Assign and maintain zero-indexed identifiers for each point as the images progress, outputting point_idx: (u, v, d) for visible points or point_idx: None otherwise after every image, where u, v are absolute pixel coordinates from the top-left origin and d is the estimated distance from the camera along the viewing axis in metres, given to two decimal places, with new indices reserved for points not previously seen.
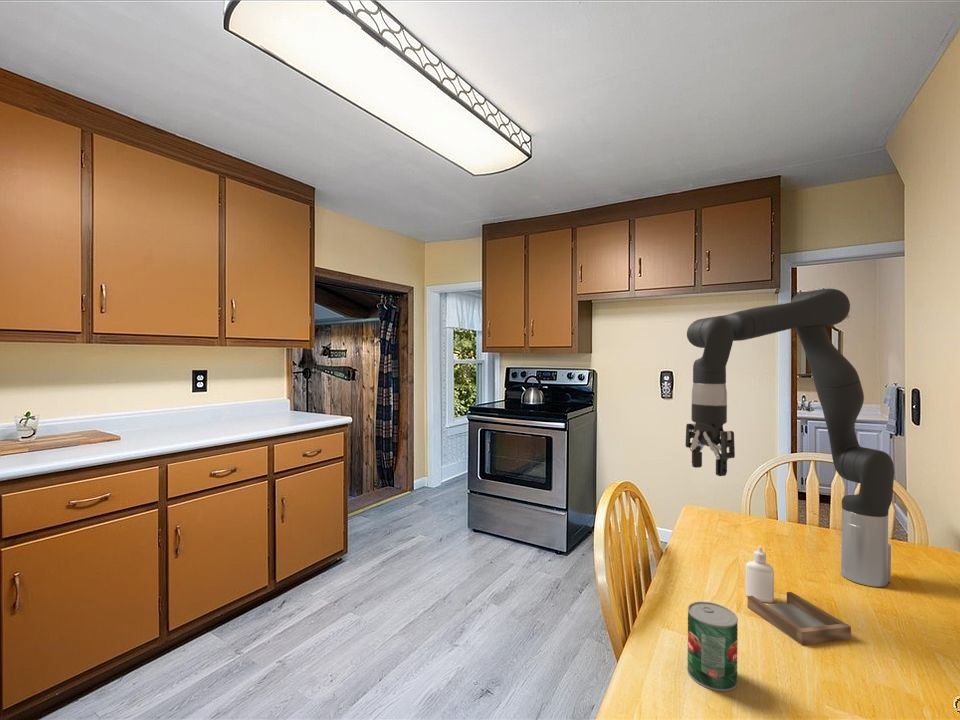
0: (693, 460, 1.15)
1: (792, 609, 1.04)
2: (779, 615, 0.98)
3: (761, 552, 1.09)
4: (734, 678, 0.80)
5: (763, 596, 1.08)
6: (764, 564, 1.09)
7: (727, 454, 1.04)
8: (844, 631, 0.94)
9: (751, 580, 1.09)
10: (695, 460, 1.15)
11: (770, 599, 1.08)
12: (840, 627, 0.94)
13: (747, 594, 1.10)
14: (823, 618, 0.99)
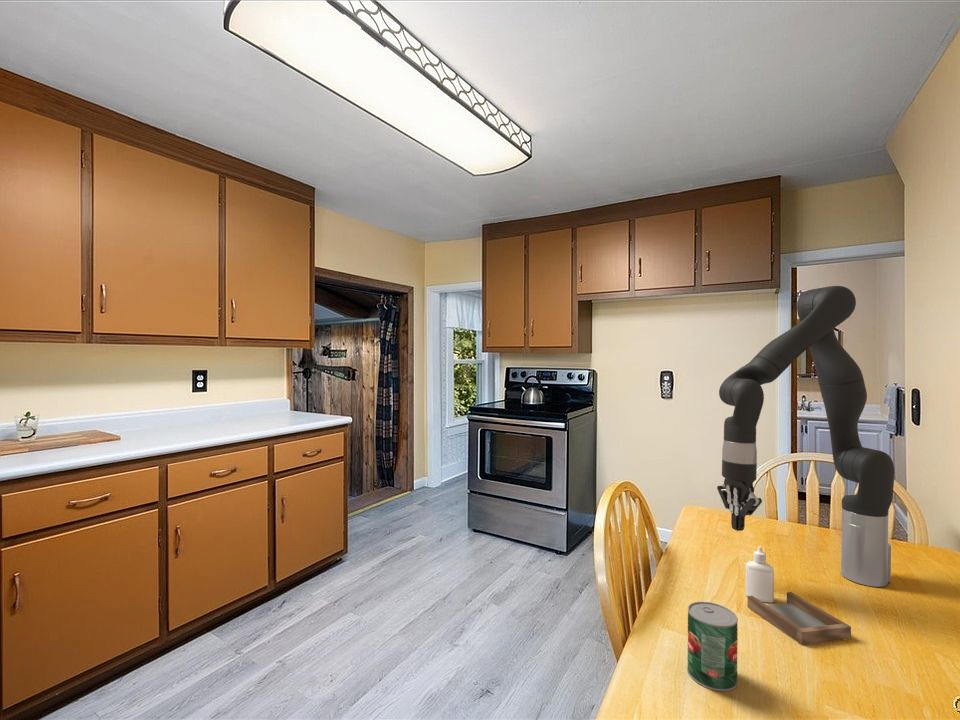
0: (733, 522, 1.17)
1: (792, 609, 1.04)
2: (779, 615, 0.98)
3: (761, 552, 1.09)
4: (734, 678, 0.80)
5: (763, 596, 1.08)
6: (764, 564, 1.09)
7: None
8: (844, 631, 0.94)
9: (751, 580, 1.09)
10: None
11: (770, 599, 1.08)
12: (840, 627, 0.94)
13: (747, 594, 1.10)
14: (823, 618, 0.99)
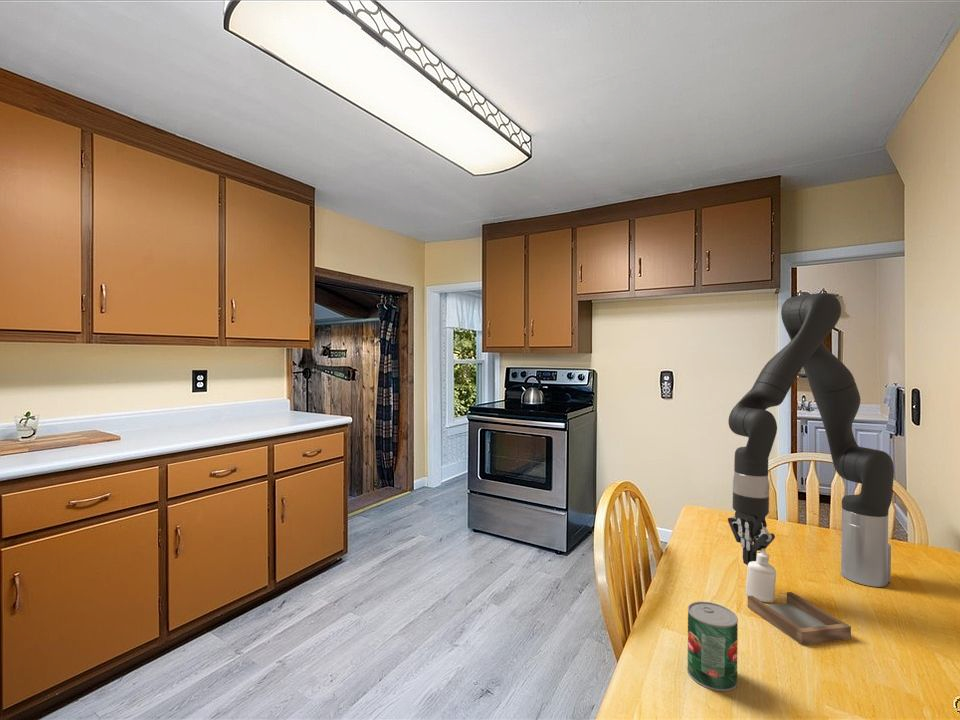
0: (744, 557, 1.13)
1: (792, 609, 1.04)
2: (779, 615, 0.98)
3: (764, 554, 1.08)
4: (734, 678, 0.80)
5: (763, 596, 1.08)
6: (767, 566, 1.08)
7: None
8: (844, 631, 0.94)
9: (752, 581, 1.09)
10: None
11: (770, 599, 1.07)
12: (840, 627, 0.94)
13: (747, 593, 1.10)
14: (823, 618, 0.99)
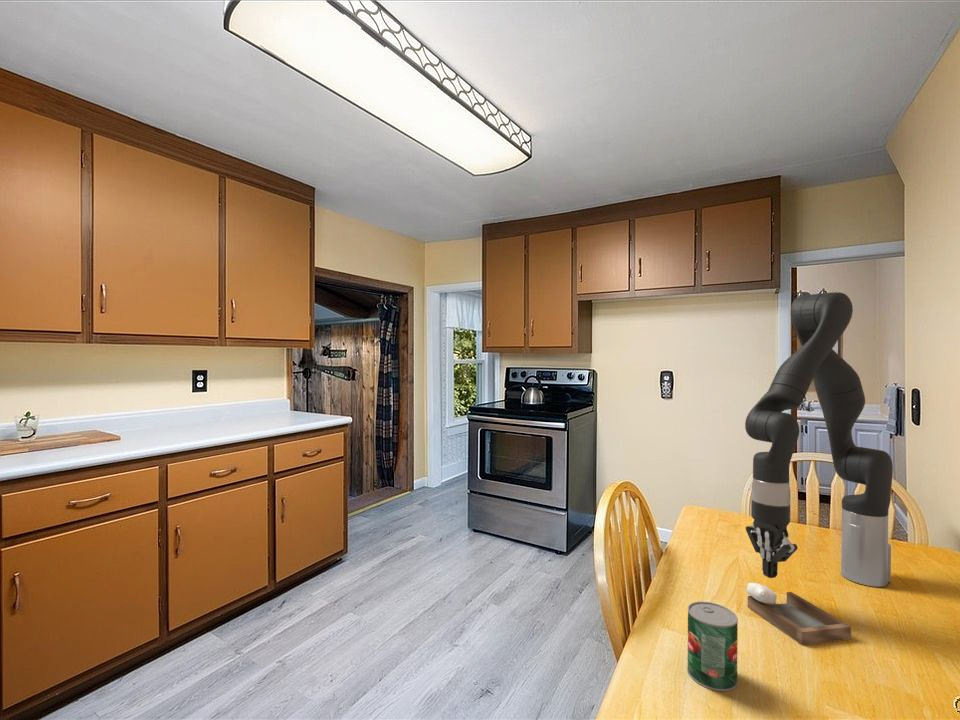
0: (764, 568, 1.07)
1: (792, 609, 1.04)
2: (779, 615, 0.98)
3: (762, 596, 1.00)
4: (734, 678, 0.80)
5: None
6: (765, 598, 1.01)
7: None
8: (844, 631, 0.94)
9: None
10: None
11: None
12: (840, 627, 0.94)
13: (747, 592, 1.09)
14: (823, 618, 0.99)
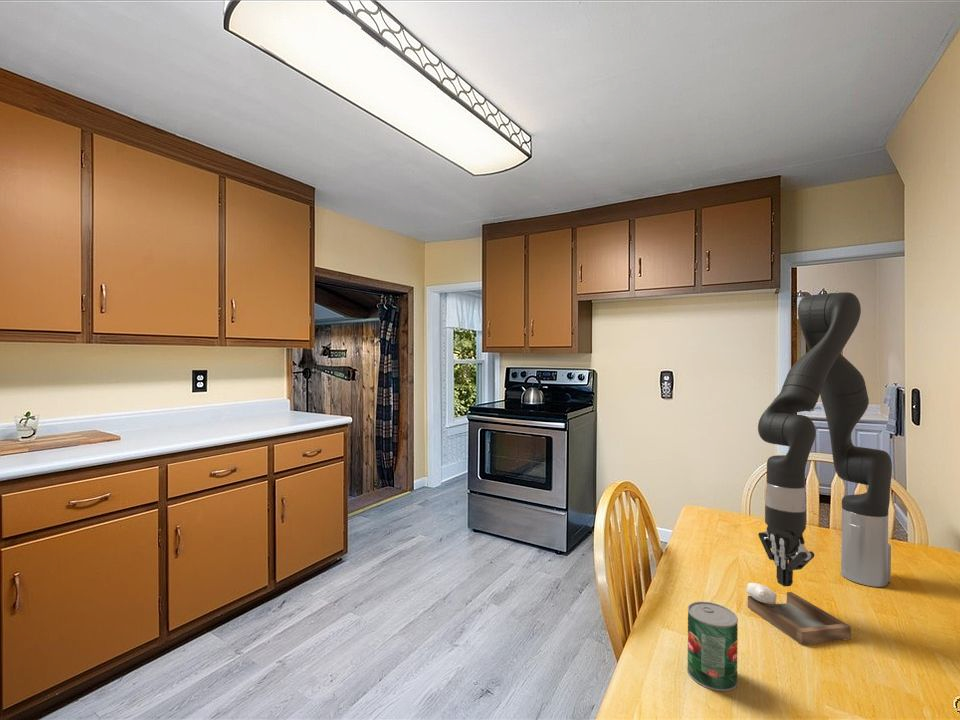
0: (779, 576, 1.03)
1: (792, 609, 1.04)
2: (779, 615, 0.98)
3: (762, 596, 1.00)
4: (734, 678, 0.80)
5: None
6: (765, 598, 1.01)
7: None
8: (844, 631, 0.94)
9: None
10: None
11: None
12: (840, 627, 0.94)
13: None
14: (823, 618, 0.99)
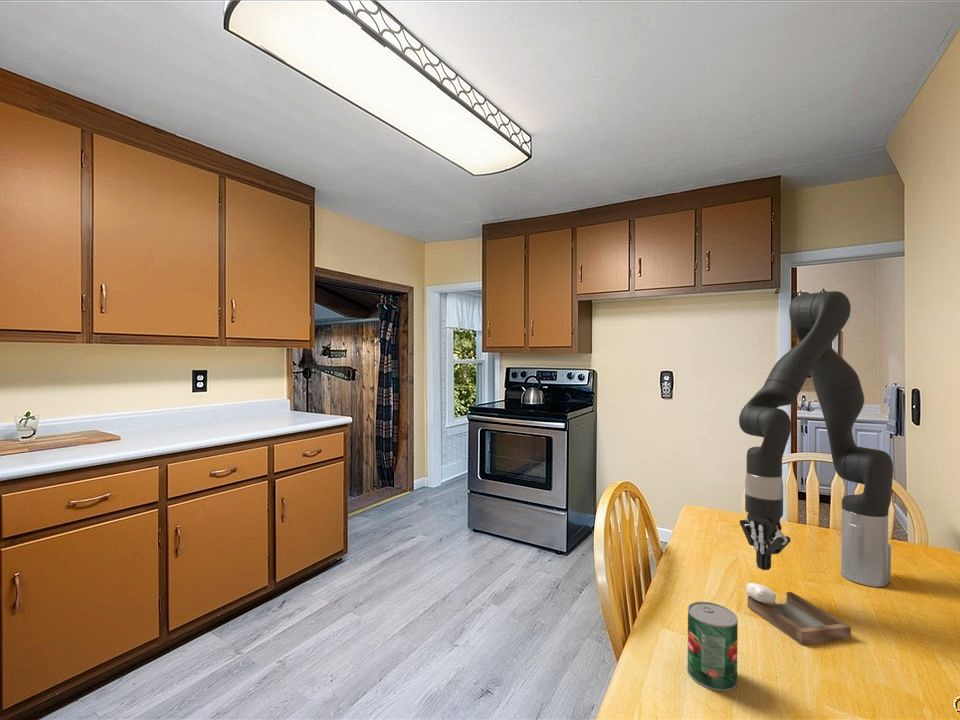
0: (758, 561, 1.09)
1: (792, 609, 1.04)
2: (779, 615, 0.98)
3: (761, 596, 1.00)
4: (734, 678, 0.80)
5: None
6: (764, 598, 1.01)
7: None
8: (844, 631, 0.94)
9: None
10: None
11: None
12: (840, 627, 0.94)
13: None
14: (823, 618, 0.99)
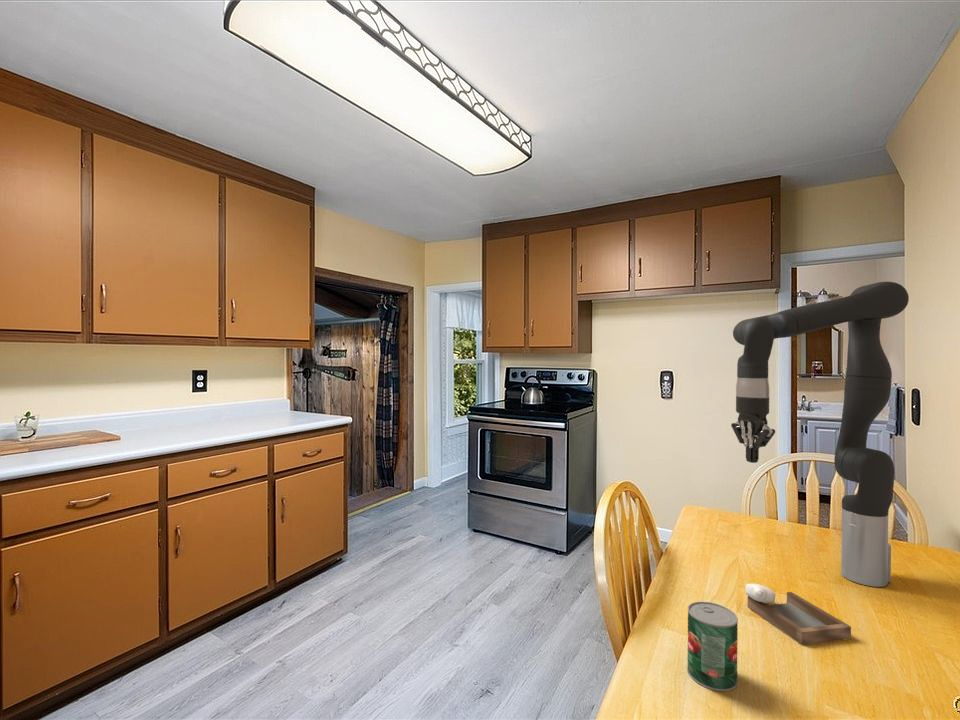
0: (747, 455, 1.23)
1: (792, 609, 1.04)
2: (779, 615, 0.98)
3: (760, 596, 1.00)
4: (734, 678, 0.80)
5: None
6: (764, 598, 1.01)
7: None
8: (844, 631, 0.94)
9: None
10: None
11: None
12: (840, 627, 0.94)
13: None
14: (823, 618, 0.99)
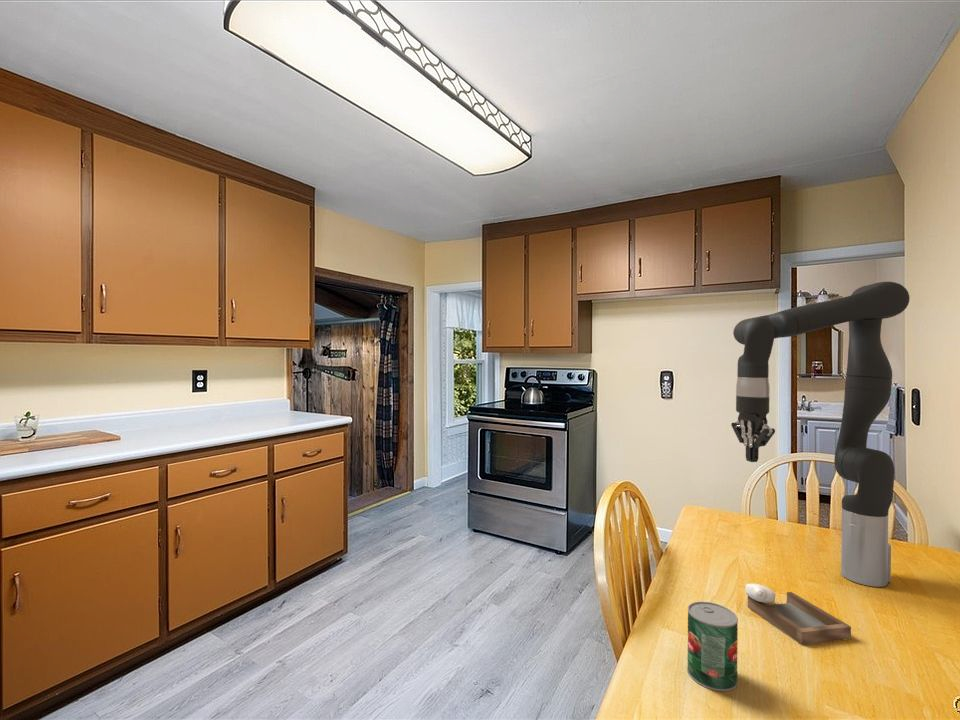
0: (747, 454, 1.23)
1: (792, 609, 1.04)
2: (779, 615, 0.98)
3: (760, 596, 1.00)
4: (734, 678, 0.80)
5: None
6: (764, 598, 1.01)
7: None
8: (844, 631, 0.94)
9: None
10: None
11: None
12: (840, 627, 0.94)
13: None
14: (823, 618, 0.99)
